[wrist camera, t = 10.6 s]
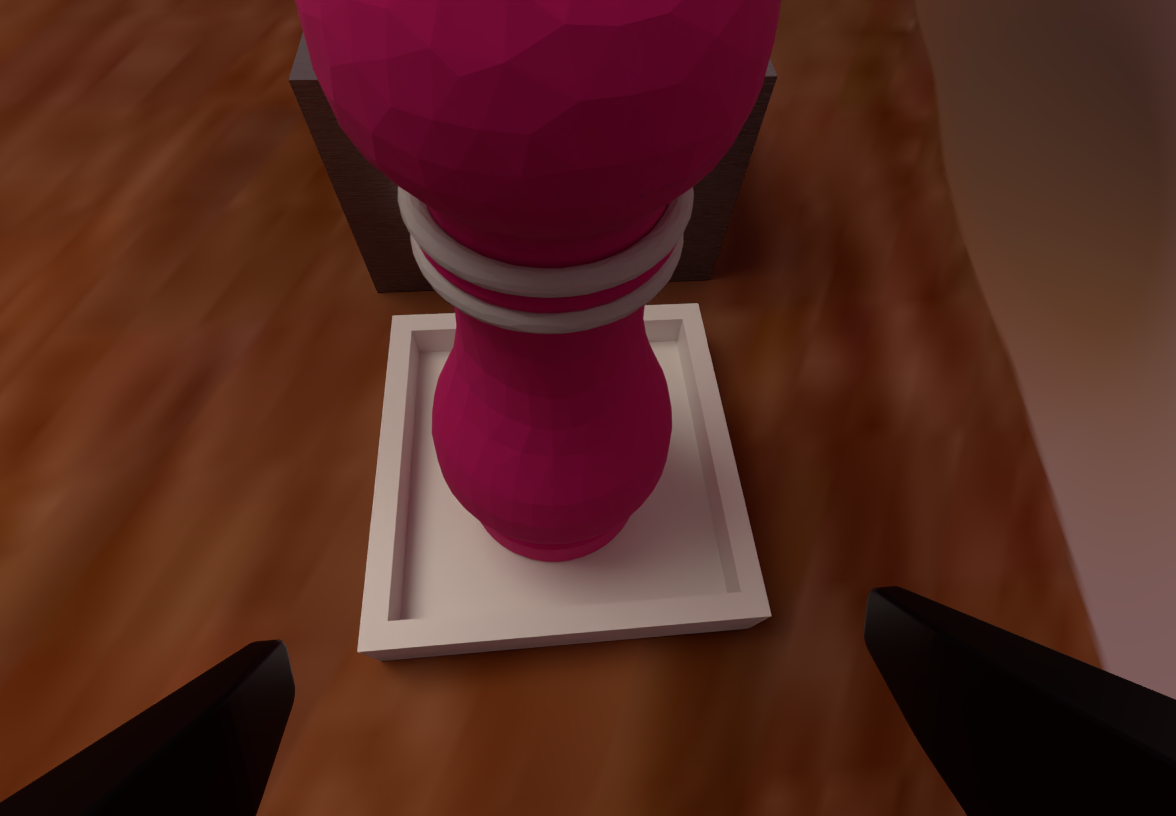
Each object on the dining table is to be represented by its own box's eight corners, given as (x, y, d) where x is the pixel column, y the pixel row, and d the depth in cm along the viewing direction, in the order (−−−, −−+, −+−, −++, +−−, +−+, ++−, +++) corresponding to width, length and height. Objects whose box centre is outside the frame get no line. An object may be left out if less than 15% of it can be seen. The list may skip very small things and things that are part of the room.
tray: (748, 628, 20) (771, 616, 18) (380, 660, 19) (357, 652, 17) (686, 338, 26) (697, 303, 24) (407, 351, 25) (392, 315, 23)
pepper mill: (572, 622, 19) (723, -739, 1) (415, 496, 21) (-344, -729, 3) (686, 464, 22) (1182, -583, 4) (540, 367, 24) (486, -627, 6)
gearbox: (709, 279, 28) (811, -27, 17) (377, 292, 27) (242, -31, 15) (670, 127, 34) (726, -175, 22) (397, 132, 32) (310, -187, 21)
